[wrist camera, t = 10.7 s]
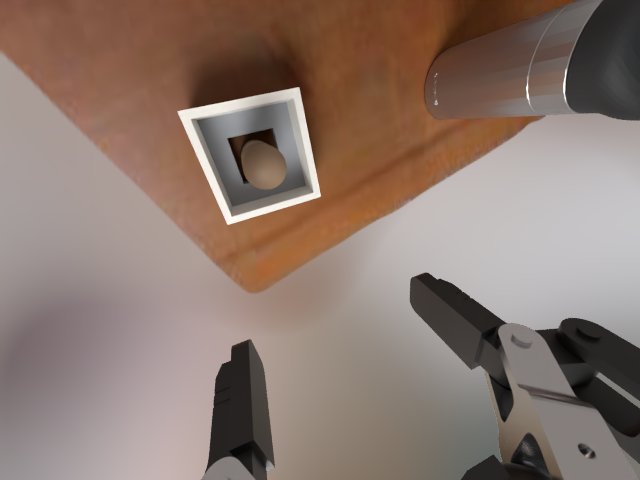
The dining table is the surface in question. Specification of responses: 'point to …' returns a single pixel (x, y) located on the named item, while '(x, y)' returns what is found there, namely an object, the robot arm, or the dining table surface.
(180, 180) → the dining table surface
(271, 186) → the peg
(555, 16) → the robot arm
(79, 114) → the dining table surface
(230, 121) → the open box
